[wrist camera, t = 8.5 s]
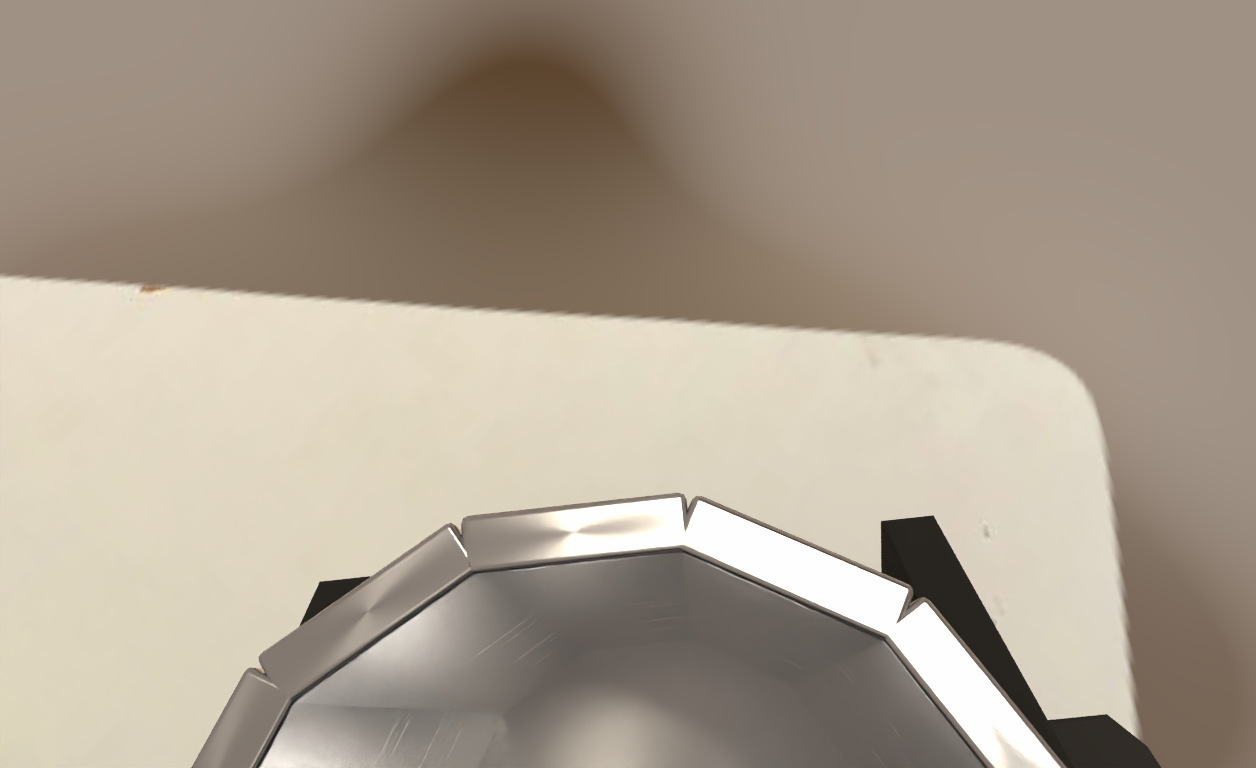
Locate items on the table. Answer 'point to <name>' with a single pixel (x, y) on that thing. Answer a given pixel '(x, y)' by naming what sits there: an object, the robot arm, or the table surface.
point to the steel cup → (623, 657)
